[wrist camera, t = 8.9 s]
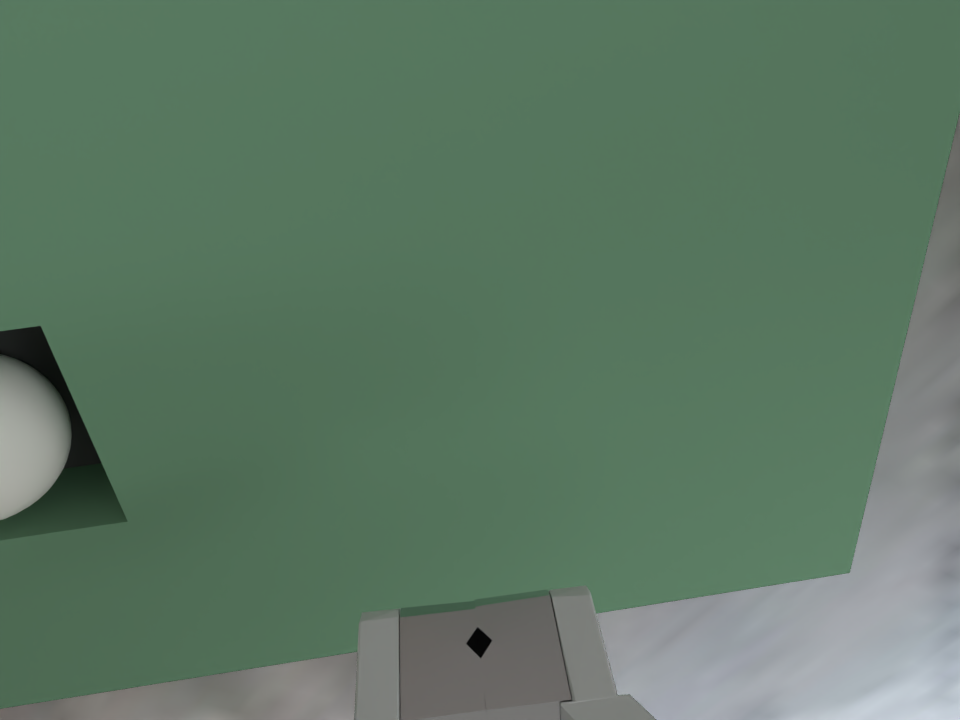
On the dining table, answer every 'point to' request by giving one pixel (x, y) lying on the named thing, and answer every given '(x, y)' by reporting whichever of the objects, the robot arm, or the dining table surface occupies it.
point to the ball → (29, 435)
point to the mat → (446, 307)
